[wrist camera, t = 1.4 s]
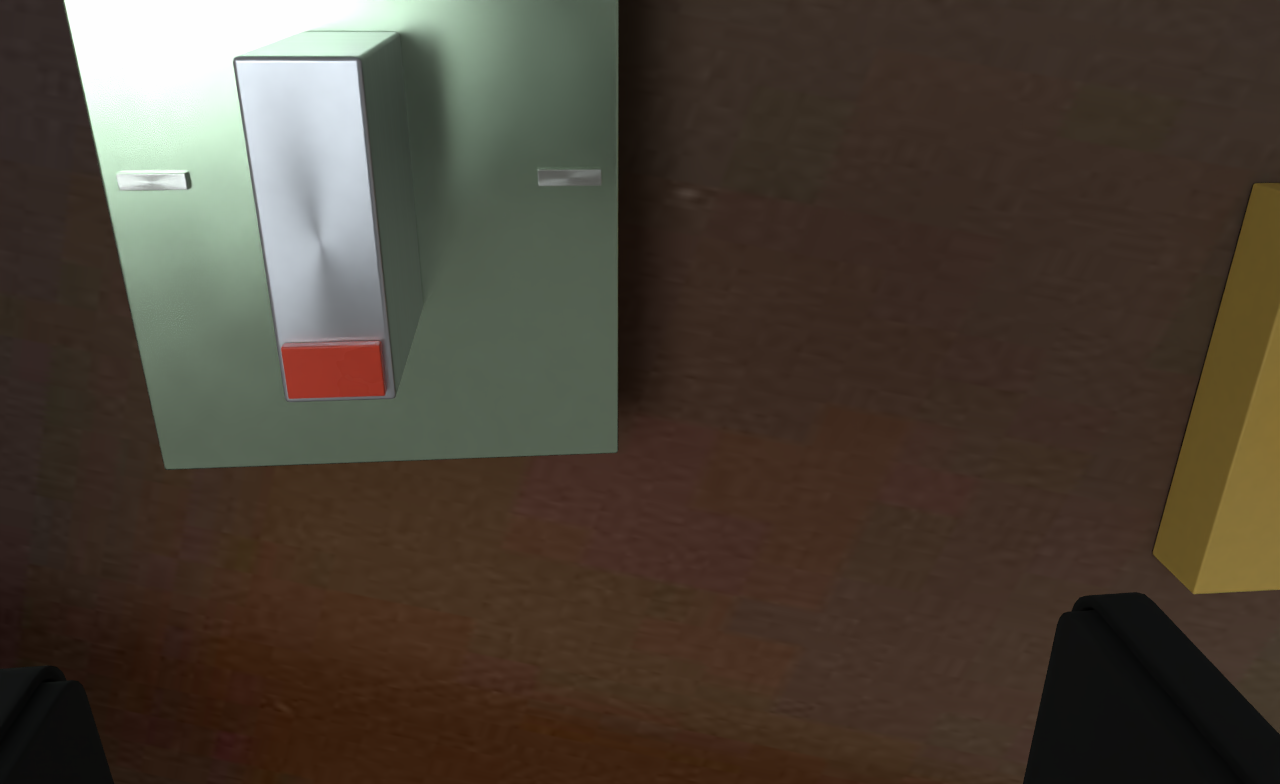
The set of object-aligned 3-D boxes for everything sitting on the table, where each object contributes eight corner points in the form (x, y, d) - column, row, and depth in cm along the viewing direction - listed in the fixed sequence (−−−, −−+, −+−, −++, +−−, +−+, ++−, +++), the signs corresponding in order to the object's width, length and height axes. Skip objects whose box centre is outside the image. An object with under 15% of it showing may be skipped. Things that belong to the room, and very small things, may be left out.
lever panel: (84, -185, 20) (11, -207, 17) (609, -172, 21) (620, -191, 19) (202, 416, 26) (161, 474, 23) (610, 403, 27) (618, 457, 24)
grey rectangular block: (299, 31, 20) (225, 58, 15) (400, 31, 20) (358, 58, 15) (334, 310, 22) (281, 410, 17) (424, 309, 22) (394, 406, 18)
